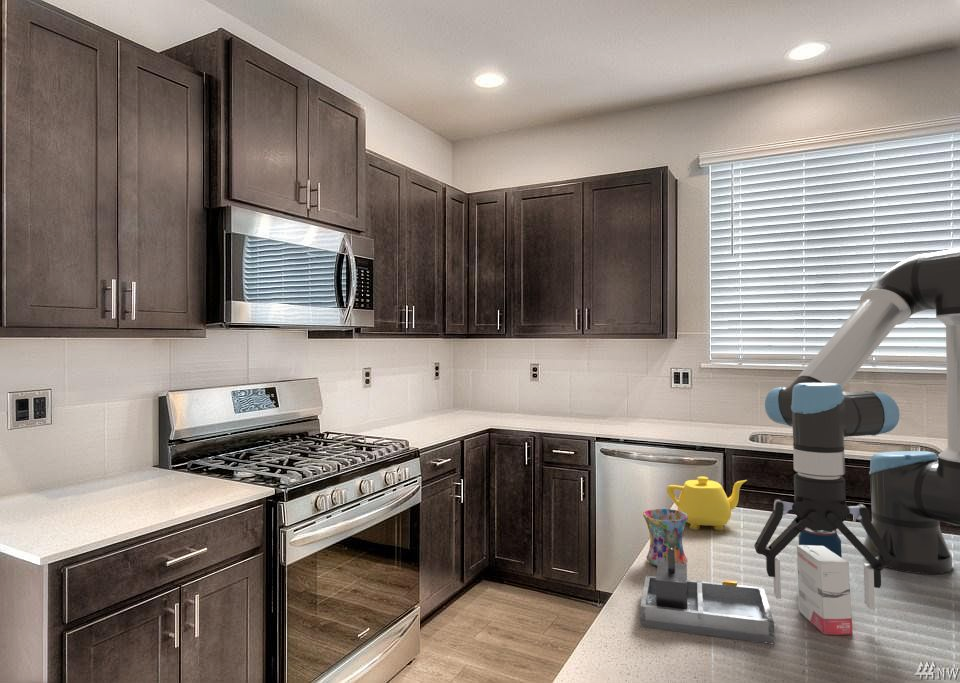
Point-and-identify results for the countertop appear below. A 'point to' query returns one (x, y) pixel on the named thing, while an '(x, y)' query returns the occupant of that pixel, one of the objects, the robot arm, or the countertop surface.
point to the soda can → (821, 540)
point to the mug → (665, 534)
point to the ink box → (824, 589)
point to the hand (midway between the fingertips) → (822, 600)
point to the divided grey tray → (704, 605)
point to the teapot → (705, 502)
